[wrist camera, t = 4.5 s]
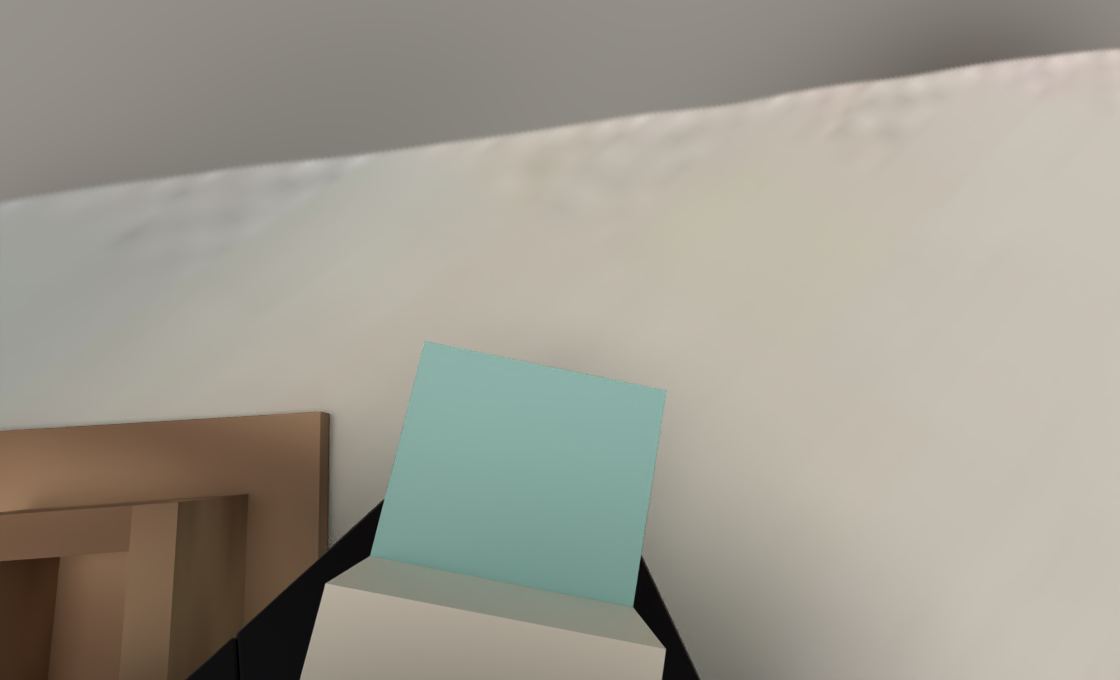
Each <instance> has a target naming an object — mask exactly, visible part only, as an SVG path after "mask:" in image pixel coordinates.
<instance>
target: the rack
mask: <svg viewBox="0 0 1120 680" xmlns="http://www.w3.org/2000/svg"><path fill="white" fill-rule="evenodd" d="M328 463H329V414H327V413H323V412H310V413H293V414H276V415H260V416H243V417H227V418H210V419H193V420H177V421H160V422H144V423H127V424H110V425H94V426H77V427H61V428H44V429H27V430H11V431H0V680H184V679H186V678H187V677H188V676H189V675H190V674H191V673H193V672H194V671H195V670H196V669H197V668H198V667H199V666H201V665H202V664H203V663H204V662H205V661H206V660H207V659H209V658H210V657H211V656H212V655H213V654H214V653H215V652H216V651H217V650H218V649H220V648H221V647H222V646H223V645H224V644H225V643H226V642H227V641H228V640H229V639H230V638H232V637H235V638H236V634H237V633H238V632H239V631H240V630H241V629H242V628H243V627H244V626H245V625H246V624H247V623H248V622H249V621H251V620H252V619H253V618H254V617H255V616H256V615H257V614H258V613H259V612H260V611H262V610H263V609H264V608H265V607H266V606H267V605H268V604H269V603H270V602H271V601H273V600H274V599H275V598H276V597H277V596H278V595H279V594H280V593H281V592H282V591H284V590H285V589H286V588H287V587H288V586H289V585H290V584H291V583H292V582H293V581H295V580H296V579H297V578H298V577H299V576H300V575H301V574H302V573H303V572H304V571H305V570H307V569H308V568H309V567H310V566H311V565H312V564H313V563H314V562H315V561H316V560H318V559H319V558H320V557H321V556H322V555H323V554H324V553H325V552H326V551H327V536H328Z"/></svg>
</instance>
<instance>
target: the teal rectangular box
mask: <svg viewBox="0 0 1120 680" xmlns="http://www.w3.org/2000/svg"><path fill="white" fill-rule="evenodd" d="M665 397H666V390H661V389H656V388H651V387H646V386H641V385H636V384H631V383H627V382H622V381H617V380H612V379H607V378H602V377H597V376H592V375H588V374H583V373H578V372H573V371H568V370H563V369H558V368H553V367H549V366H544V365H539V364H534V363H529V362H524V361H519V360H514V359H510V358H505V357H500V356H495V355H490V354H485V353H480V352H475V351H471V350H466V349H461V348H456V347H451V346H446V345H441V344H436V343H432V342H427V341H425V342H424V346H423V350H422V354H421V358H420V362H419V366H418V370H417V373H416V377H415V381H414V385H413V389H412V393H411V397H410V401H409V405H408V409H407V413H406V417H405V421H404V425H403V429H402V432H401V436H400V440H399V444H398V448H397V452H396V456H395V460H394V464H393V468H392V472H391V476H390V480H389V484H388V487H387V491H386V495H385V499H384V503H383V507H382V511H381V515H380V519H379V523H378V527H377V531H376V535H375V539H374V543H373V546H372V550H371V554H370V556H369V557H368V558H366V559H364V560H363V561H361V562H359V563H358V564H356V565H355V566H353V567H351V568H350V569H348V570H347V571H345V572H343V573H342V574H340V575H338V576H337V577H335V578H334V579H332V580H330V581H329V582H327V583H326V584H325V588H324V591H323V595H322V599H321V603H320V606H319V610H318V614H317V618H316V621H315V625H314V629H313V632H312V636H311V640H310V644H309V647H308V651H307V655H306V659H305V662H304V666H303V670H302V673H301V677H300V680H662V674H663V667H664V660H665V653H666V649H665V647H664V646H663V645H662V644H661V642H660V641H659V640H658V638H657V637H656V636H655V635H654V633H653V632H652V631H651V630H650V628H649V627H648V626H647V624H646V623H645V622H644V621H643V619H642V618H641V617H640V616H639V614H638V613H637V612H636V610H635V609H634V608H633V604H634V597H635V591H636V584H637V578H638V571H639V565H640V558H641V552H642V546H643V539H644V533H645V526H646V520H647V513H648V507H649V500H650V494H651V487H652V481H653V475H654V468H655V462H656V455H657V449H658V442H659V436H660V429H661V423H662V416H663V410H664V403H665Z"/></svg>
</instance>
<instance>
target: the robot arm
mask: <svg viewBox="0 0 1120 680" xmlns="http://www.w3.org/2000/svg"><path fill="white" fill-rule="evenodd" d="M383 503H384V499H383V500H382V501H381V502H380V503H379V504H378V505H377V506H376V507H375V508H374V509H372V510H371V511H370V512H369V513H368V514H367V515H366V516H365V517H364V518H363V519H361V520H360V521H359V522H358V523H357V524H356V525H355V526H354V527H353V528H352V529H350V530H349V531H348V532H347V533H346V534H345V535H344V536H343V537H342V538H341V539H340V540H338V541H337V542H336V543H335V544H334V545H333V546H332V547H331V548H330V549H329V550H327V551H326V552H325V553H324V554H323V555H322V556H321V557H320V558H319V559H318V560H316V561H315V562H314V563H313V564H312V565H311V566H310V567H309V568H308V569H307V570H305V571H304V572H303V573H302V574H301V575H300V576H299V577H298V578H297V579H296V580H295V581H293V582H292V583H291V584H290V585H289V586H288V587H287V588H286V589H285V590H284V591H282V592H281V593H280V594H279V595H278V596H277V597H276V598H275V599H274V600H273V601H271V602H270V603H269V604H268V605H267V606H266V607H265V608H264V609H263V610H262V611H260V612H259V613H258V614H257V615H256V616H255V617H254V618H253V619H252V620H251V621H249V622H248V623H247V624H246V625H245V626H244V627H243V628H242V629H241V630H240V631H239V632H238V633H237V634H236V638H235V637H232V638H230V639H229V640H228V641H227V642H226V643H225V644H224V645H223V646H222V647H221V648H220V649H218V650H217V651H216V652H215V653H214V654H213V655H212V656H211V657H210V658H209V659H207V660H206V661H205V662H204V663H203V664H202V665H201V666H199V667H198V668H197V669H196V670H195V671H194V672H193V673H191V674H190V675H189V676H188V677H187V678H186V679H184V680H300V677H301V673H302V670H303V666H304V662H305V659H306V655H307V651H308V647H309V644H310V640H311V636H312V632H313V629H314V625H315V621H316V618H317V614H318V610H319V606H320V603H321V599H322V595H323V591H324V588H325V584H326V583H327V582H329V581H330V580H332V579H334V578H335V577H337V576H338V575H340V574H342V573H343V572H345V571H347V570H348V569H350V568H351V567H353V566H355V565H356V564H358V563H359V562H361V561H363V560H364V559H366V558H368V557H369V556H370V554H371V550H372V546H373V543H374V539H375V535H376V531H377V527H378V523H379V519H380V515H381V511H382V507H383ZM633 608H634V609H635V610H636V612H637V613H638V614H639V616H640V617H641V618H642V619H643V621H644V622H645V623H646V624H647V626H648V627H649V628H650V630H651V631H652V632H653V633H654V635H655V636H656V637H657V638H658V640H659V641H660V642H661V644H662V645H663V646H664V647H665V649H666V653H665V660H664V667H663V674H662V680H700V678H699V675H698V673H697V671H696V669H695V667H694V665H693V663H692V661H691V658H690V656H689V654H688V652H687V650H686V648H685V646H684V644H683V642H682V639H681V637H680V635H679V633H678V631H677V629H676V627H675V625H674V622H673V620H672V618H671V616H670V614H669V612H668V610H667V608H666V605H665V603H664V601H663V599H662V597H661V595H660V593H659V591H658V589H657V586H656V584H655V582H654V580H653V578H652V576H651V574H650V572H649V569H648V567H647V565H646V563H645V561H644V559H643V557H642V555H641V558H640V565H639V571H638V578H637V584H636V591H635V597H634V604H633Z"/></svg>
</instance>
